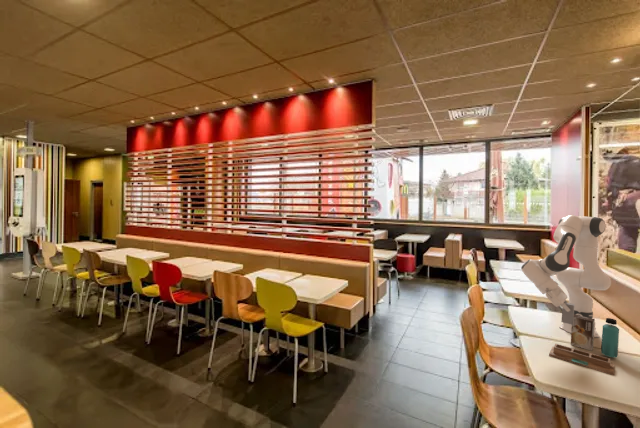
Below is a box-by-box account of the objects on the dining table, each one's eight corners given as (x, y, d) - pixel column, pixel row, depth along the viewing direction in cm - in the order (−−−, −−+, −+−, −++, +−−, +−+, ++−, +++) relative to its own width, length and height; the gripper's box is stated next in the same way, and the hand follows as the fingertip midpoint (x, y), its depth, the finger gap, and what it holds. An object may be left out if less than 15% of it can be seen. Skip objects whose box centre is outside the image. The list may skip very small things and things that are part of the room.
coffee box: (593, 347, 169) (595, 318, 168) (591, 351, 165) (593, 321, 164) (572, 341, 176) (574, 313, 175) (569, 344, 171) (571, 316, 171)
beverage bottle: (621, 361, 154) (624, 322, 153) (605, 359, 156) (608, 320, 155) (611, 355, 161) (614, 317, 160) (596, 353, 162) (599, 316, 161)
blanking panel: (562, 320, 164) (563, 302, 164) (573, 323, 161) (574, 304, 160) (561, 322, 162) (562, 303, 161) (572, 324, 159) (573, 305, 158)
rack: (552, 348, 166) (553, 340, 166) (613, 365, 150) (614, 357, 149) (548, 356, 157) (549, 348, 157) (613, 375, 140) (614, 367, 140)
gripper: (550, 287, 158) (573, 311, 152) (556, 281, 173) (577, 303, 166) (539, 293, 161) (561, 317, 155) (546, 287, 176) (566, 308, 169)
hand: (569, 310), depth 161 cm, fingers closed on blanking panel, 3 cm apart
